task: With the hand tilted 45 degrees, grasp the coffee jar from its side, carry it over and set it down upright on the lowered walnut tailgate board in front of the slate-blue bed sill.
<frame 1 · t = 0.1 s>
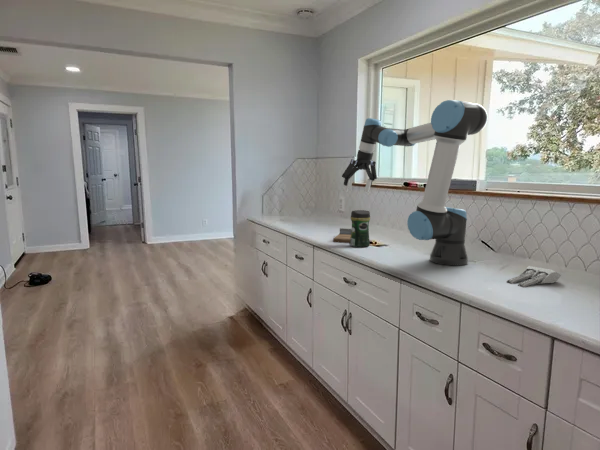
hand: (356, 191, 194), 28 cm above the worktop, fingers open, 13 cm apart
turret: (533, 283, 133), on the worktop
coffee jar: (359, 246, 194), on the worktop
tailgate: (348, 240, 210), on the worktop
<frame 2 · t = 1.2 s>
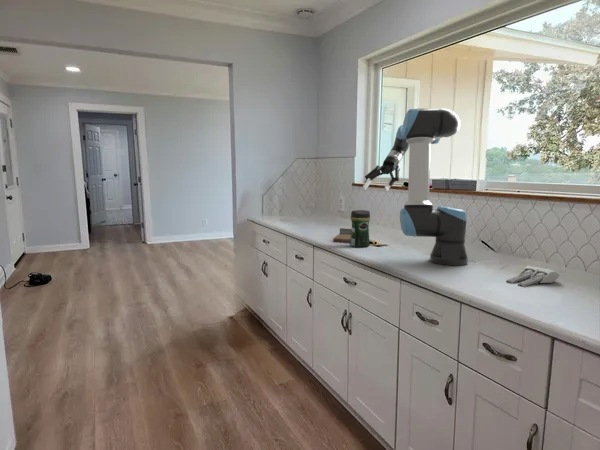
hand: (374, 189, 197), 29 cm above the worktop, fingers open, 13 cm apart
nothing on the worktop moved.
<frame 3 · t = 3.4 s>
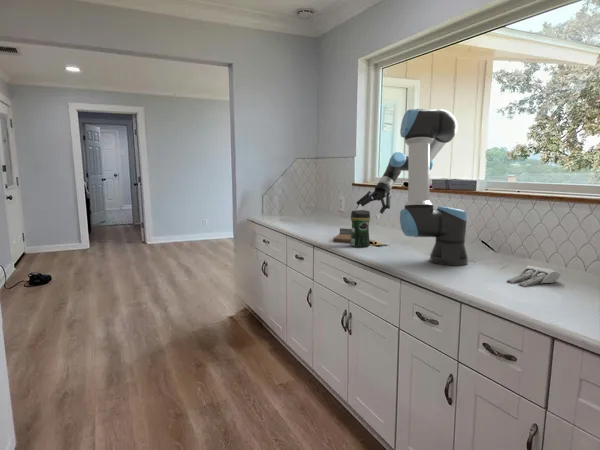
hand: (365, 216, 196), 15 cm above the worktop, fingers open, 13 cm apart
nothing on the worktop moved.
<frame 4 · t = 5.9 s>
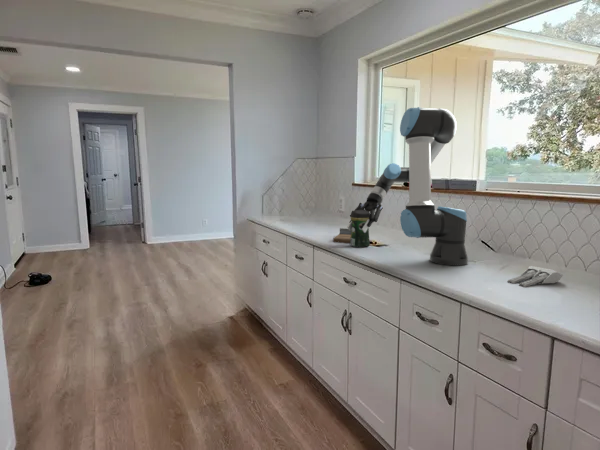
hand: (356, 229, 190), 9 cm above the worktop, fingers closed on coffee jar, 9 cm apart
coffee jar: (359, 246, 194), on the worktop, touching gripper
everything else where it was.
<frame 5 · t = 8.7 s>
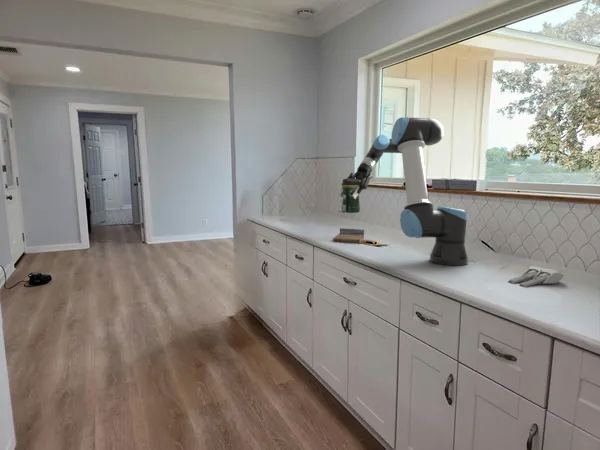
hand: (346, 196, 204), 24 cm above the worktop, fingers closed on coffee jar, 9 cm apart
coffee jar: (350, 212, 207), point 16 cm above the worktop, touching gripper
everything else where it was.
when the fingers open (12 cm above the worktop, at t = 11.5 s): coffee jar drops 1 cm, resting on tailgate.
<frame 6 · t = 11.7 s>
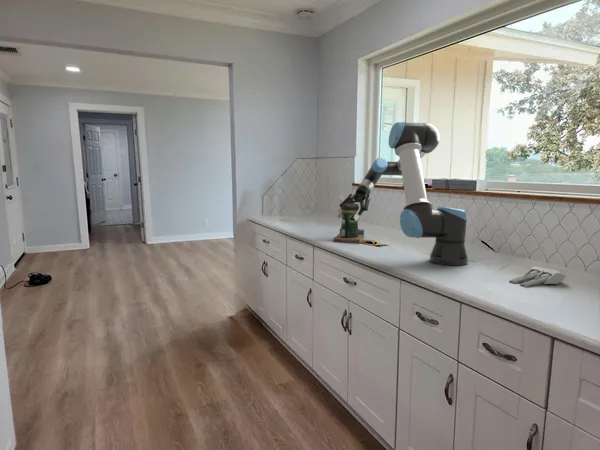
hand: (346, 218, 206), 13 cm above the worktop, fingers open, 11 cm apart
coffee jar: (348, 237, 210), point 2 cm above the worktop, touching tailgate
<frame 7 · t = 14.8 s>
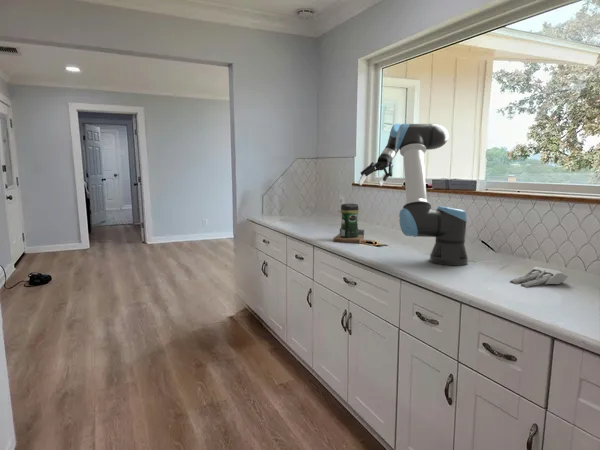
hand: (369, 184, 209), 31 cm above the worktop, fingers open, 13 cm apart
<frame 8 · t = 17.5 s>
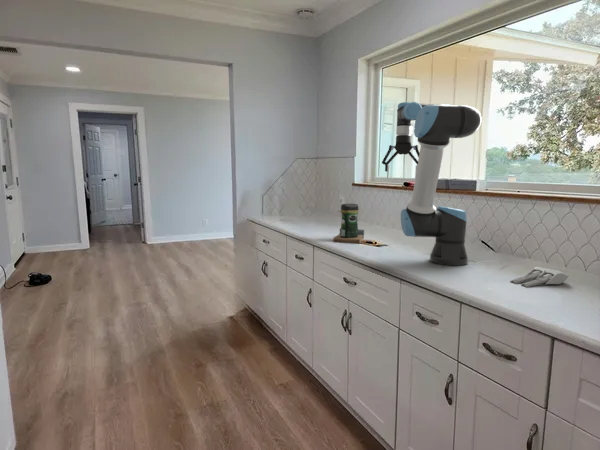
hand: (401, 178, 190), 35 cm above the worktop, fingers open, 13 cm apart
at the end: coffee jar 0.0 cm from the tailgate (horizontally); coffee jar touching tailgate; coffee jar tilted 0° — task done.
